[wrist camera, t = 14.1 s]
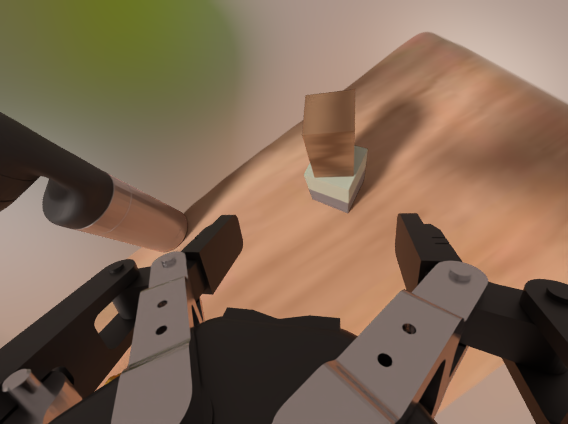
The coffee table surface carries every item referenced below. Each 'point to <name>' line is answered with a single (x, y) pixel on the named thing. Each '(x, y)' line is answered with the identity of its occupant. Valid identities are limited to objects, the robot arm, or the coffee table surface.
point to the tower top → (339, 179)
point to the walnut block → (330, 133)
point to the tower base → (335, 202)
